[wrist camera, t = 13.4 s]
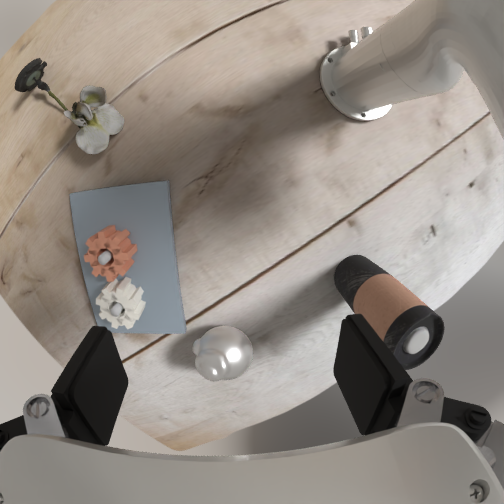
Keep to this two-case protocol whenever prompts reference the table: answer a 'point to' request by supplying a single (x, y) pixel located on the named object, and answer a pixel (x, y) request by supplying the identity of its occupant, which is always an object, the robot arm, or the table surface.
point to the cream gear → (125, 296)
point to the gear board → (146, 258)
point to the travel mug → (390, 310)
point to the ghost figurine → (223, 353)
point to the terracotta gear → (115, 244)
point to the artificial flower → (79, 109)
